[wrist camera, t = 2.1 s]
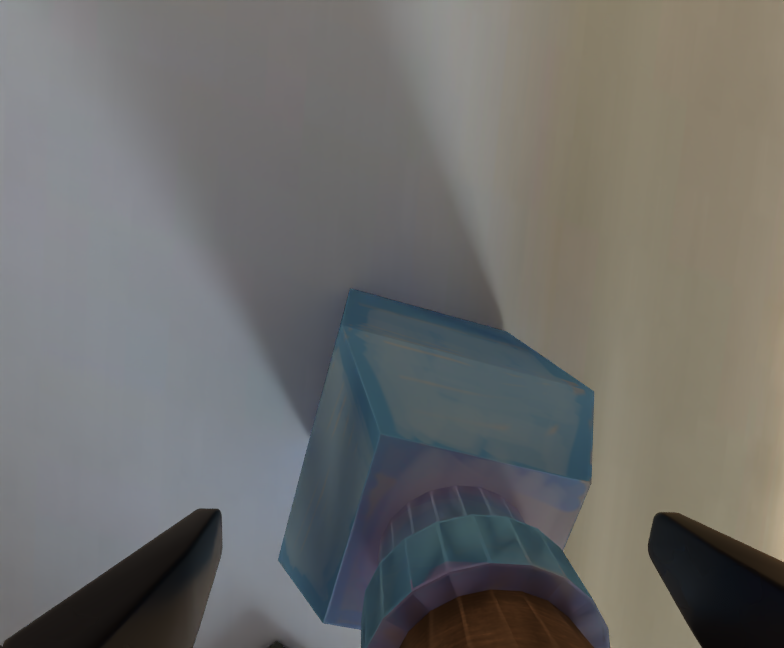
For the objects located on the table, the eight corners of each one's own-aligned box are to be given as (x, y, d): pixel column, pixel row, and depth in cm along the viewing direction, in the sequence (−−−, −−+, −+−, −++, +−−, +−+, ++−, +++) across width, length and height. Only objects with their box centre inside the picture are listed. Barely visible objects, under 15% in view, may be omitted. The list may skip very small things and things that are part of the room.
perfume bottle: (350, 288, 15) (306, 473, 3) (506, 331, 16) (901, 603, 4) (309, 439, 16) (174, 957, 5) (457, 472, 17) (660, 991, 5)
